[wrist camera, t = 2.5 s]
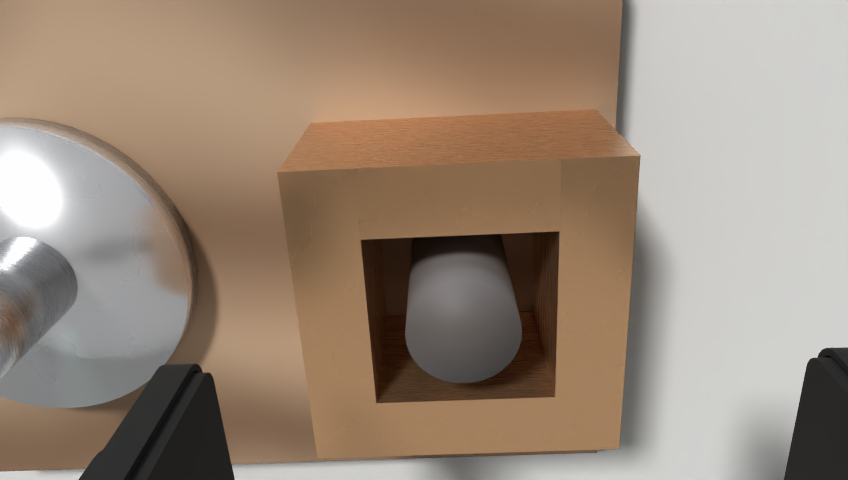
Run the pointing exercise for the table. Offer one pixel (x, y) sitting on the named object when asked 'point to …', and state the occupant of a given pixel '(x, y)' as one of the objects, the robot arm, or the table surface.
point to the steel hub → (85, 268)
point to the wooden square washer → (453, 216)
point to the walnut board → (266, 152)
